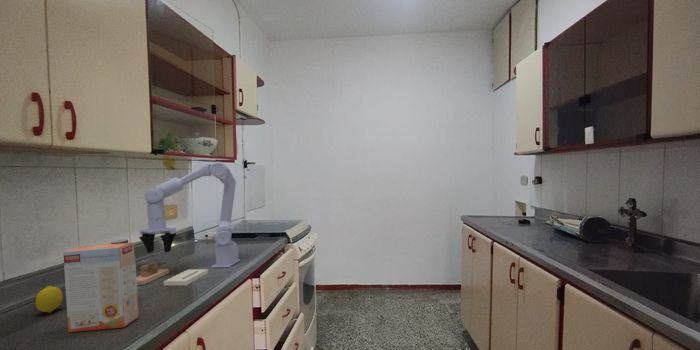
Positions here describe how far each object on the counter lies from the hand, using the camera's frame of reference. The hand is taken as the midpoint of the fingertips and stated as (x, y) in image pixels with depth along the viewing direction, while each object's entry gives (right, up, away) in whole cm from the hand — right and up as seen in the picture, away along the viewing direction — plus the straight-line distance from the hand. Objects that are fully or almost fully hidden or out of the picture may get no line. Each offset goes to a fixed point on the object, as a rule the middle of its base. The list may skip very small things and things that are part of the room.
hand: (159, 252), depth 112 cm
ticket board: (+15, -8, -6) cm, 18 cm away
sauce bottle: (+7, -9, -26) cm, 29 cm away
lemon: (-13, -11, -28) cm, 33 cm away
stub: (-1, -9, -4) cm, 10 cm away
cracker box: (+11, -9, -38) cm, 41 cm away
